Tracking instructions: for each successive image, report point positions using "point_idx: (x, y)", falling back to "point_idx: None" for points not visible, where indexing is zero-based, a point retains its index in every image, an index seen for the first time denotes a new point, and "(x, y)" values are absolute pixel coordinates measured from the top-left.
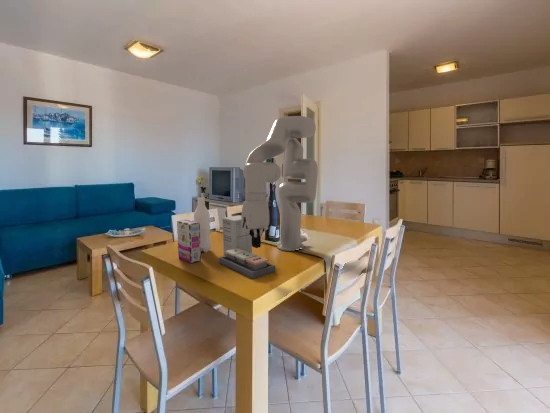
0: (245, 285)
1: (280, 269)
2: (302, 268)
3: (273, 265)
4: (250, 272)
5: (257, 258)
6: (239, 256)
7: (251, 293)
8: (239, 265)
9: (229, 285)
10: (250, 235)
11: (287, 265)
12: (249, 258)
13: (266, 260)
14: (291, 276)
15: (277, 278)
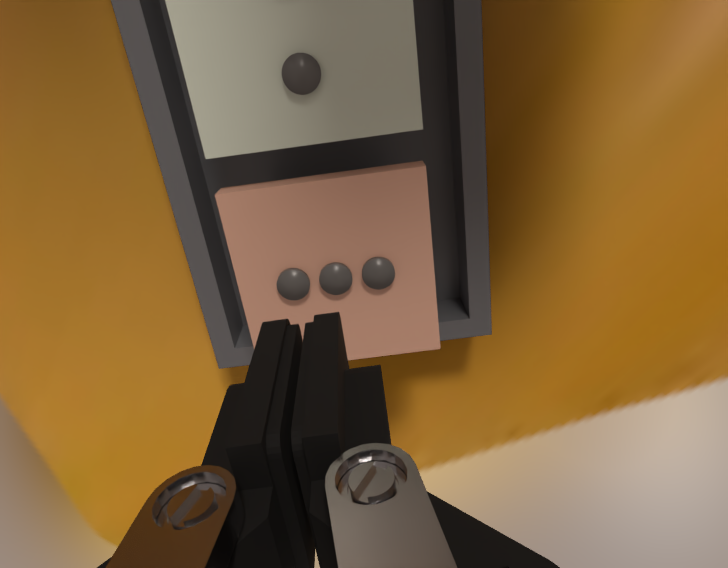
0: (135, 403)
1: (552, 282)
2: (705, 359)
3: (481, 321)
4: (213, 335)
5: (346, 276)
6: (176, 35)
7: (131, 509)
8: (170, 125)
9: (19, 347)
10: (157, 505)
11: (680, 232)
12: (269, 201)
13: (412, 350)
14: (509, 435)
15: (403, 416)
